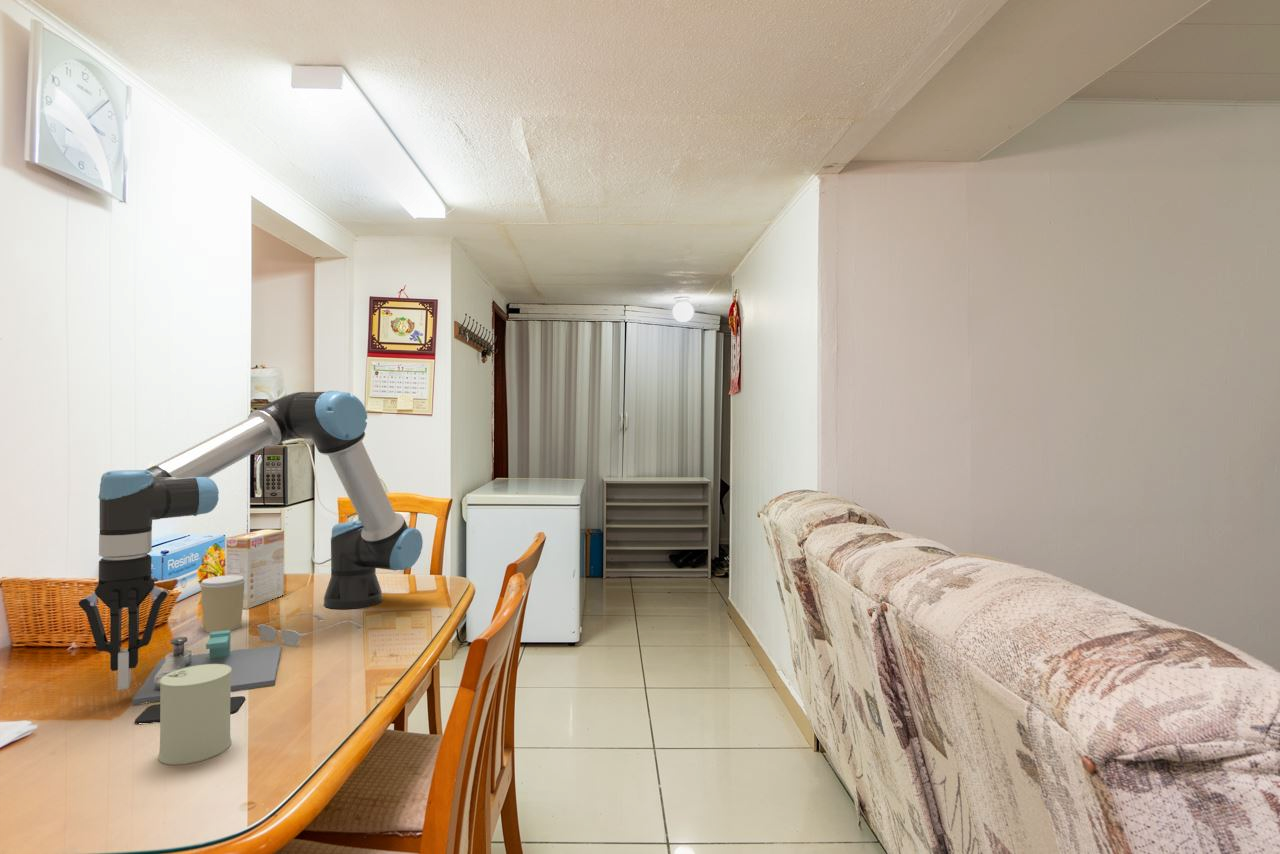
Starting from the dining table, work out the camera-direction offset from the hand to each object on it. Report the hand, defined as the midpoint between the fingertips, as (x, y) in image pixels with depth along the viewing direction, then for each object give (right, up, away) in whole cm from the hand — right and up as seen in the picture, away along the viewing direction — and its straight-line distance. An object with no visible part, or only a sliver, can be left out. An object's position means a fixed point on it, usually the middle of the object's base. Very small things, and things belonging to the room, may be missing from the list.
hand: (124, 686), depth 119 cm
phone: (+15, -3, -4) cm, 16 cm away
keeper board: (+8, -2, +13) cm, 15 cm away
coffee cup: (-10, -3, +43) cm, 45 cm away
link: (+2, -1, +9) cm, 9 cm away
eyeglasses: (+14, -3, +40) cm, 43 cm away
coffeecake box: (-16, -3, +68) cm, 70 cm away
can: (+25, -3, -18) cm, 31 cm away
